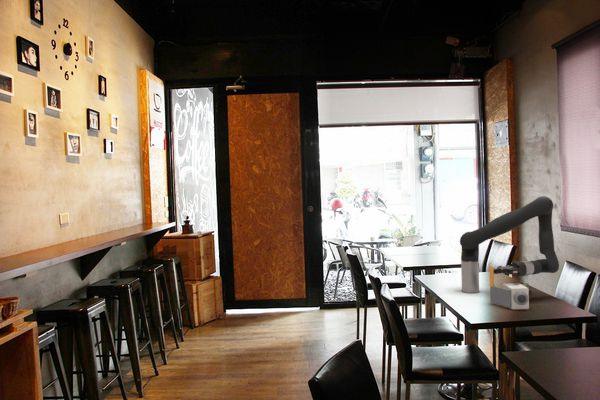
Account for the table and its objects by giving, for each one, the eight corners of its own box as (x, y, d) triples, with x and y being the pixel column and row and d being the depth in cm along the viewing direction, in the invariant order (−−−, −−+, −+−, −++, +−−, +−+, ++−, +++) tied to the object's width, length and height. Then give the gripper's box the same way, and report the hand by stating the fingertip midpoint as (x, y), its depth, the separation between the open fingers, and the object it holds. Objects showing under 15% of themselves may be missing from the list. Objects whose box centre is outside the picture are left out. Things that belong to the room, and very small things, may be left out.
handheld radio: (509, 302, 254) (526, 293, 272) (516, 303, 252) (533, 294, 270) (509, 289, 254) (527, 280, 272) (516, 290, 251) (533, 281, 270)
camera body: (502, 303, 251) (502, 281, 251) (519, 302, 251) (518, 281, 251) (513, 310, 237) (513, 287, 237) (530, 310, 237) (530, 287, 237)
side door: (490, 302, 251) (489, 266, 250) (491, 302, 251) (491, 266, 251) (509, 308, 239) (508, 270, 238) (511, 307, 239) (510, 270, 239)
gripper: (512, 259, 260) (484, 262, 255) (531, 263, 248) (502, 266, 243) (513, 273, 261) (484, 276, 256) (531, 278, 248) (502, 281, 243)
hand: (493, 271), depth 249 cm, fingers closed
